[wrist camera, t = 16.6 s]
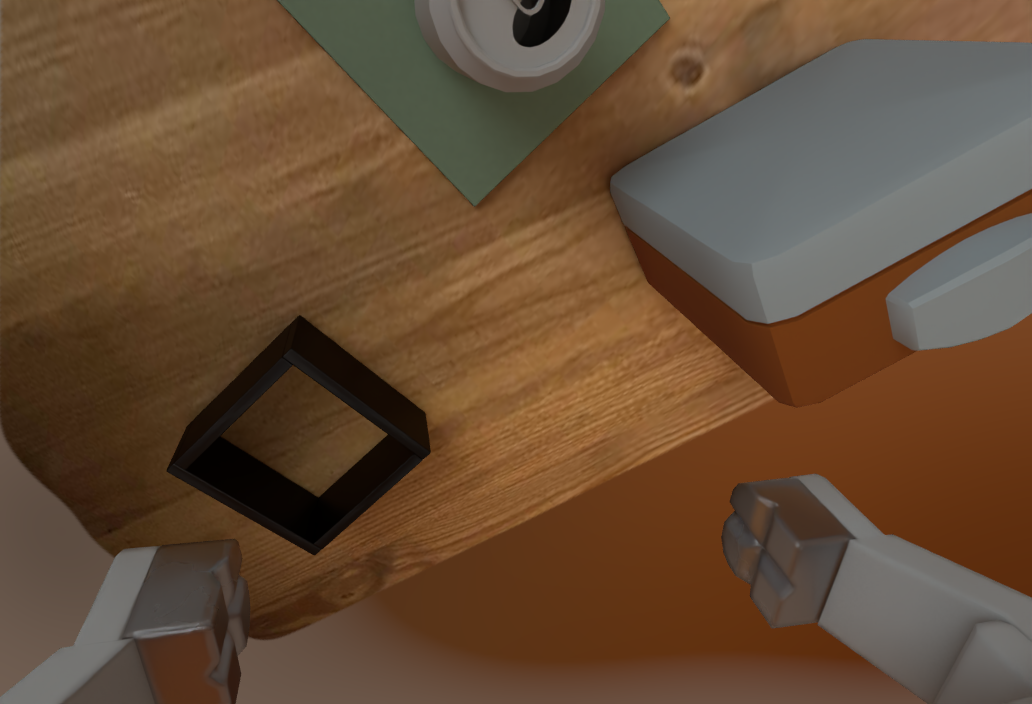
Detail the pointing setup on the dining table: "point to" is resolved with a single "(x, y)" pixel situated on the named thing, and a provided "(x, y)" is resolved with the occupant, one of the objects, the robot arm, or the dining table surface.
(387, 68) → the mat
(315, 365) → the frame
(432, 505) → the dining table surface
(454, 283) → the dining table surface
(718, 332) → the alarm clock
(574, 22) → the can
